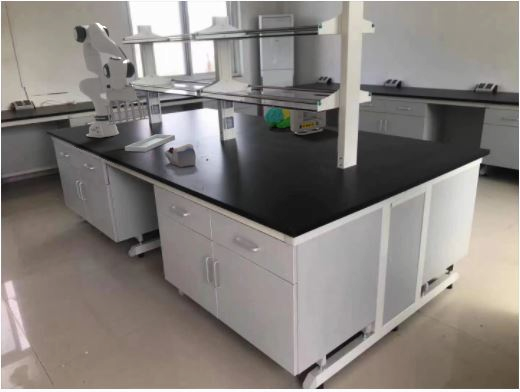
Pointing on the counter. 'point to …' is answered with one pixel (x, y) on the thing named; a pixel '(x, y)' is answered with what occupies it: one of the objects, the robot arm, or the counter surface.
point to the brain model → (278, 117)
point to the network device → (307, 121)
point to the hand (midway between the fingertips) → (123, 108)
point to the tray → (149, 143)
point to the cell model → (181, 155)
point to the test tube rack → (125, 112)
